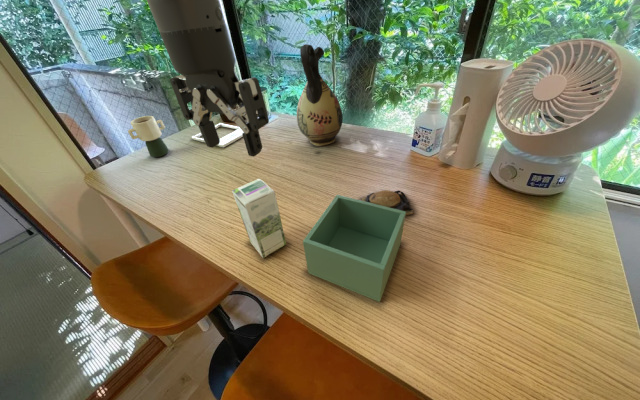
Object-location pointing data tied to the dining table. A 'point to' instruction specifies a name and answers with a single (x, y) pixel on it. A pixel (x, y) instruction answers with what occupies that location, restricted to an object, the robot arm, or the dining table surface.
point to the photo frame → (228, 138)
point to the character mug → (149, 134)
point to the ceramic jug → (317, 102)
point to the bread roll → (390, 200)
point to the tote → (355, 245)
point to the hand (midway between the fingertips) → (234, 149)
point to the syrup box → (260, 216)
